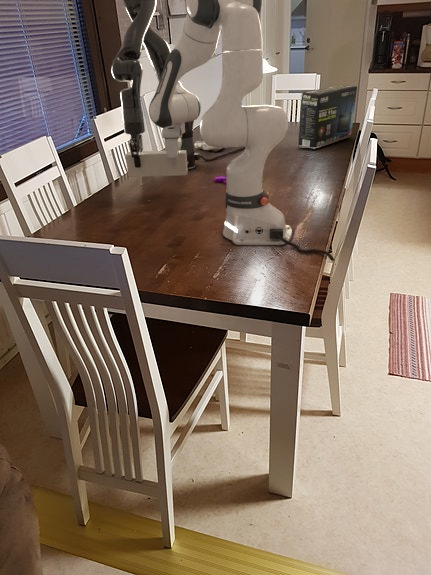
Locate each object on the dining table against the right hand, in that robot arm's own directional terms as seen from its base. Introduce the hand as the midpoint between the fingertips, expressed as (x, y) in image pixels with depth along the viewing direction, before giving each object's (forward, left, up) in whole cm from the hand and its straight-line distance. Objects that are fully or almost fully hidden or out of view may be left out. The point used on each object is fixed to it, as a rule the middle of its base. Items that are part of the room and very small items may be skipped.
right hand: (176, 164), depth 177 cm
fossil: (+8, -71, -12) cm, 73 cm away
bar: (+7, +2, -4) cm, 8 cm away
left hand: (+14, +4, 0) cm, 14 cm away
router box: (-50, -90, -12) cm, 104 cm away
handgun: (-17, -13, -12) cm, 25 cm away
